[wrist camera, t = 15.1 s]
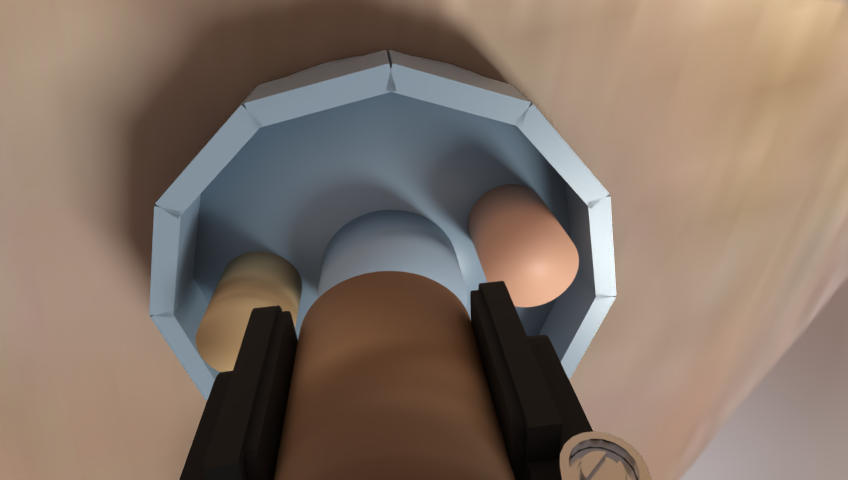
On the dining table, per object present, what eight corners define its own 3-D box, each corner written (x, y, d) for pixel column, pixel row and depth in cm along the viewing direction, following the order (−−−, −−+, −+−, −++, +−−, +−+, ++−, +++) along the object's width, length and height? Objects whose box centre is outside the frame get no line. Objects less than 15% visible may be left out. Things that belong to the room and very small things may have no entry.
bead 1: (308, 312, 27) (298, 372, 23) (232, 320, 27) (209, 382, 23) (294, 247, 25) (281, 302, 21) (212, 255, 25) (183, 312, 21)
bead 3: (476, 263, 27) (495, 316, 23) (460, 196, 25) (478, 242, 21) (550, 243, 26) (582, 294, 23) (541, 174, 24) (574, 217, 21)
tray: (276, 433, 33) (266, 490, 29) (93, 126, 22) (44, 158, 19) (595, 353, 32) (622, 402, 29) (561, -4, 22) (598, 5, 18)
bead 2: (471, 261, 11) (530, 436, 7) (473, 394, 13) (520, 588, 9) (282, 281, 11) (233, 474, 7) (314, 413, 13) (291, 620, 9)
